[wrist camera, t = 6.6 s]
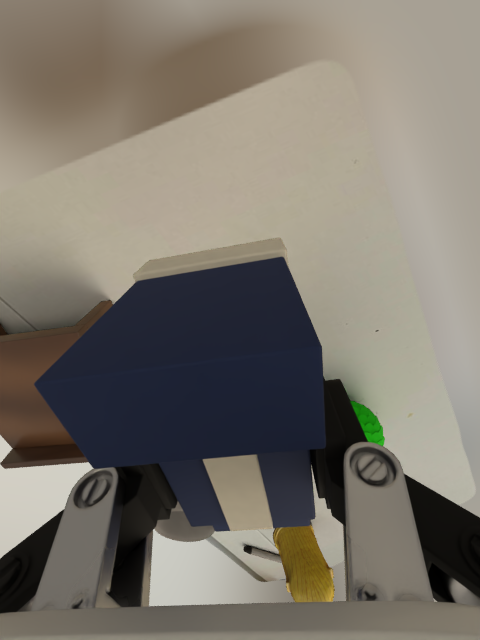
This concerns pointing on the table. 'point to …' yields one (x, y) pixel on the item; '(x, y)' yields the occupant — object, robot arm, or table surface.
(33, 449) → the wooden stand
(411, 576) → the robot arm
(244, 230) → the table surface
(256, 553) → the pen
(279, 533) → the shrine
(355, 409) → the ornament
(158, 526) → the mug
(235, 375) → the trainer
